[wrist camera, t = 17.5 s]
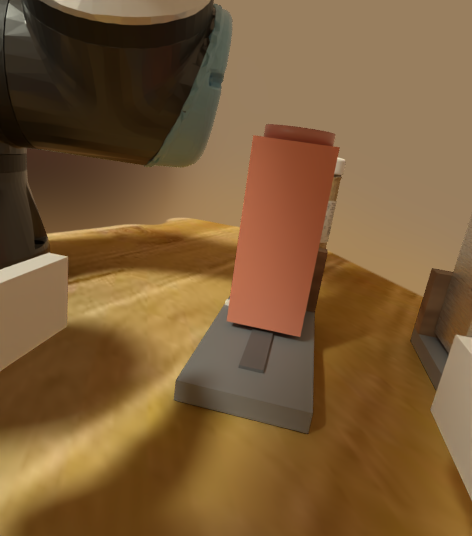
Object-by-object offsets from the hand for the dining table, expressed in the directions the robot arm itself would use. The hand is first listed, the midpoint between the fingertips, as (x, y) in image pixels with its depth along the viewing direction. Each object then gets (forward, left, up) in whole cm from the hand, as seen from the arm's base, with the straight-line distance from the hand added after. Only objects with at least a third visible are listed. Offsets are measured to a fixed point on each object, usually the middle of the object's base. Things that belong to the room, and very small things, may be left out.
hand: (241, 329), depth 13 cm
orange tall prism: (-5, +14, -5) cm, 15 cm away
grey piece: (-4, +11, -7) cm, 14 cm away
